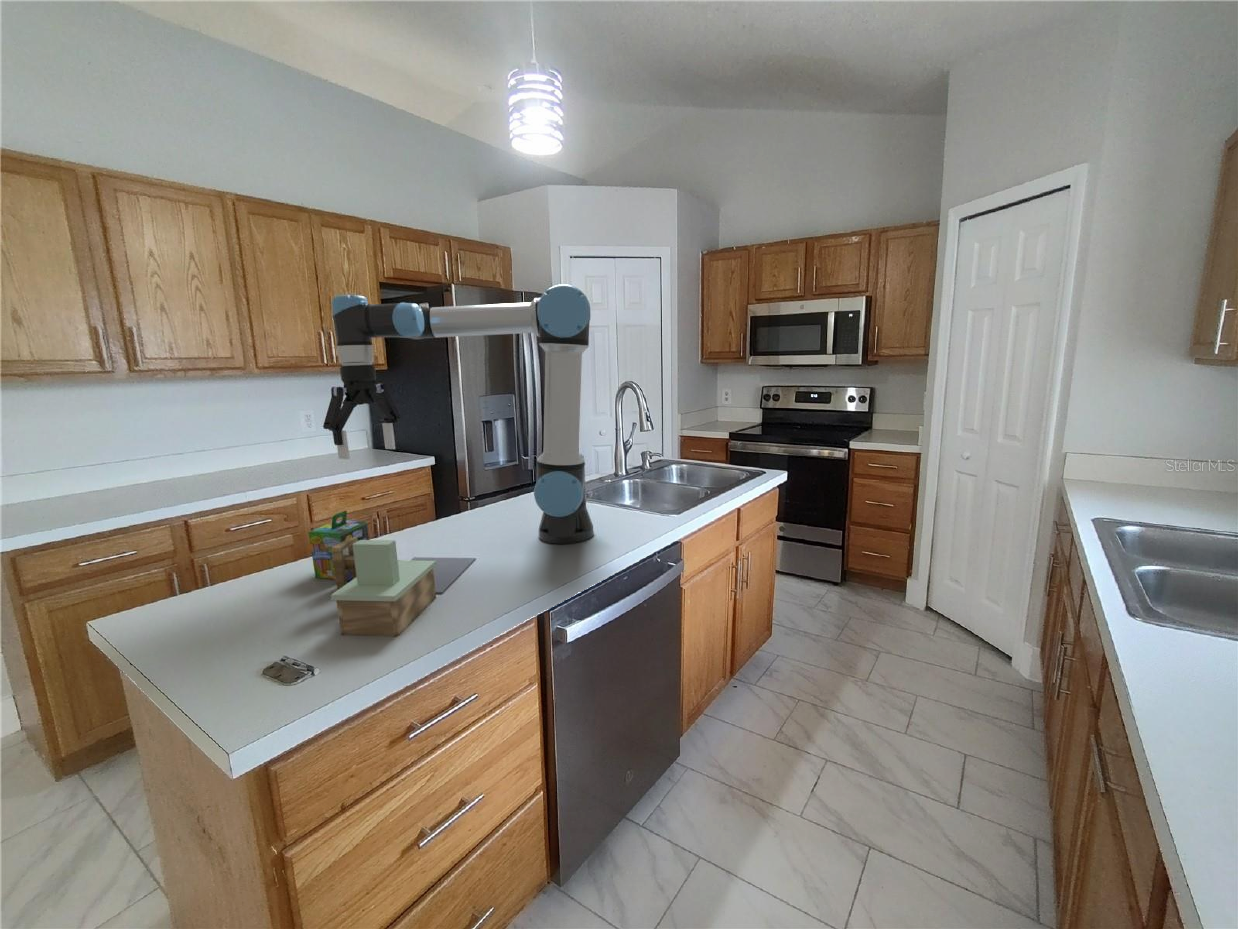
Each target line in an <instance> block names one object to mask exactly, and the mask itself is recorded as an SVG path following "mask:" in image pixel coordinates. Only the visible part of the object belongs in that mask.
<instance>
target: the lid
mask: <svg viewBox="0 0 1238 929" xmlns="http://www.w3.org/2000/svg"><path fill="white" fill-rule="evenodd" d="M352 545H353V552H354V560H355V568H356V576H357V577H356V578H355V579H353V580H352V581H350V582H349V583H347V584H346V585H345V586H343V587H342V588H340V589H339V590H337V589H336V591H334V592H333V593H332V594H331V595H330V597H331V601H336V600H351V601H396V600H397V599H399V598H400V597H401V596H402V595H403V594H404V593H405V592H407V591H408V590H409V589H410V588H411V587H412V586H413V585H415V584H416V583H417V582H418V581H419V580H420V579H421V578H422V577H424V576H425V575H426V574H427V573H428V572H429V571H430V570H432V569H433V568H434V567H435V566H436V561H410V560H409V559H407V560H399V559H398V551H397V542H396V540H394V539H390V540H389V539H379V540H378V539H371V540H370V539H369V540H359V541H357V542H356V543H354V544H352Z"/></svg>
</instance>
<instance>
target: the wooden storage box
mask: <svg viewBox="0 0 1238 929" xmlns="http://www.w3.org/2000/svg"><path fill="white" fill-rule="evenodd" d="M357 541H358V540H357V538H348V539H346V540H345V541H343V542H341V543H339V544H338V545H336V546H334V547H332V548H331V549H332V556H333V563H334V570H335V578H336V579H335V583H336V585H335V586H336V591H337V590H339V589H340V588H342V587H343V586H345V585H346V584H347V579H346V573H347V572H349V571H350V570H351V573H352V580H353V579H355V578H356V577H357V576H356V568H345V564H344V556H343V550H344V549H345V548H347V547H348V551H349V555H354V552H353V545H352V544H354V543H356V542H357ZM436 599H437V594H436V592H435V582H434V572H433V569H432V570H430V571H429V572H428V573H427V574H426V575H425V576H424V577H422V578H421V579H420V580H419V581H418V582H417V583H416V584H415V585H413V586H412V587H411V588H410V589H409V590H408V591H407V592H405V593H404V594H403V595H402V596H401V597H400V598H399V599H397V600H396V601H351V600H335V602H336V609H337V615H338V622H339V630H340V635H341V636H372V637H373V636H375V637H376V636H379V637H380V636H381V637H399V636H400V635H401V634H402V633H403V632H404V631H405V630H406V629H407V628H408V627H409V626H410V625H411V624H412V623H413V622H414V621H415V620H416V619H417V618H418V617H419V616H420V615H421V614H422V613H423V612H424V611H425V610H426V609H427V608H428V607H429V606H430V605H431V604H432V603H433V602H434V600H436Z"/></svg>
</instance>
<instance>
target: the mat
mask: <svg viewBox="0 0 1238 929" xmlns="http://www.w3.org/2000/svg"><path fill="white" fill-rule="evenodd" d="M476 560H477V557H427V556H426V557H425V556H424V557H413V558H411V559H410V560H409V561H436V566H435V567H434V568H433V572H434V582H435V592H436V595H443V594H444V593H445V592H446V591H447V590H448V589H449V588H450V586H452V585H453V583H455V582H456V581H457V580H458V579H459V577H460V576H461V575H463V573H464V572H466V571H467V569H468V568H469V567H470V566H471V565H472V564H473V563H475V561H476Z"/></svg>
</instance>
